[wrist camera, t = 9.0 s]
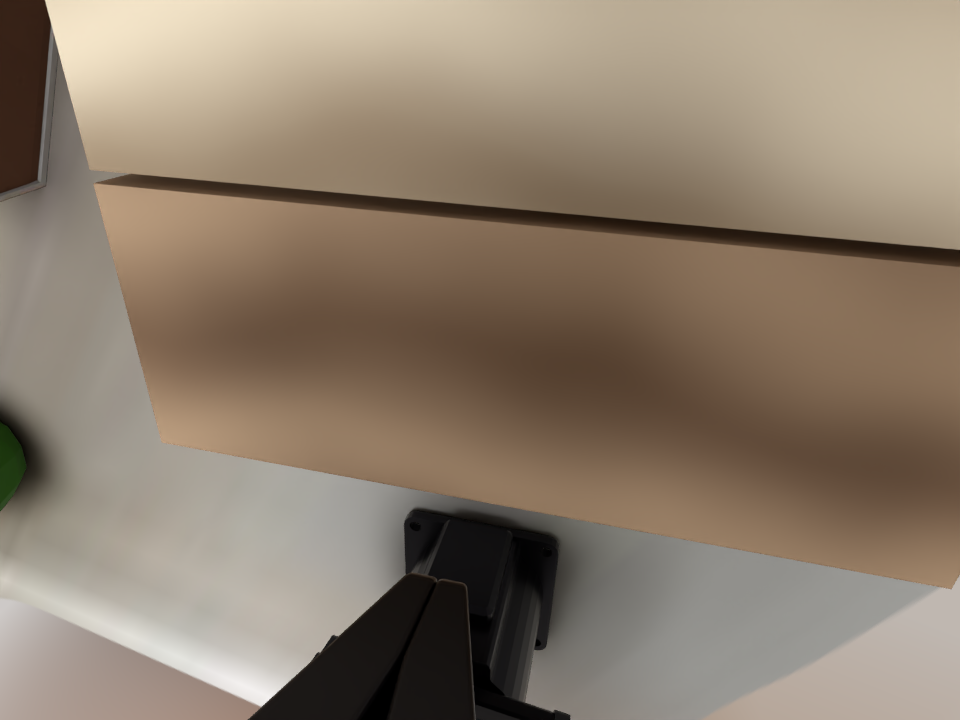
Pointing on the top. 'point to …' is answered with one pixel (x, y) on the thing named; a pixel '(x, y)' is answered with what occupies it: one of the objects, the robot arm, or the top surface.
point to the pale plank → (542, 105)
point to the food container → (25, 95)
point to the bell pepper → (9, 464)
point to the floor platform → (561, 363)
